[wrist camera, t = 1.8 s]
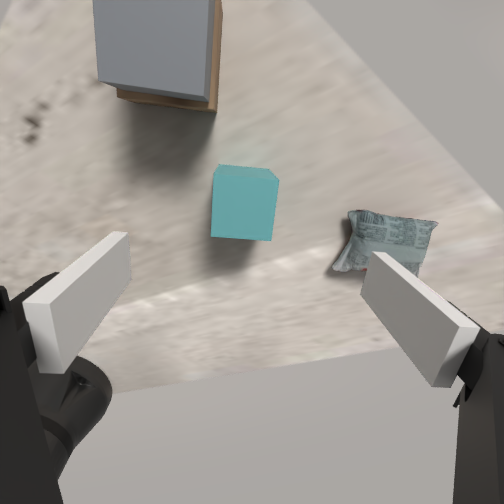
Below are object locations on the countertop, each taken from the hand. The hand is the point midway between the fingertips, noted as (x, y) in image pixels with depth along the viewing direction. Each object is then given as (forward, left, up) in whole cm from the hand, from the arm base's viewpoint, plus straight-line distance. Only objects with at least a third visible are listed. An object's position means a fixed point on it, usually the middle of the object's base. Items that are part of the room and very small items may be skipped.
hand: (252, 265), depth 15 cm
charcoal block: (-8, +13, -17) cm, 23 cm away
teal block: (0, 0, -21) cm, 21 cm away
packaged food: (+19, -5, -22) cm, 29 cm away
